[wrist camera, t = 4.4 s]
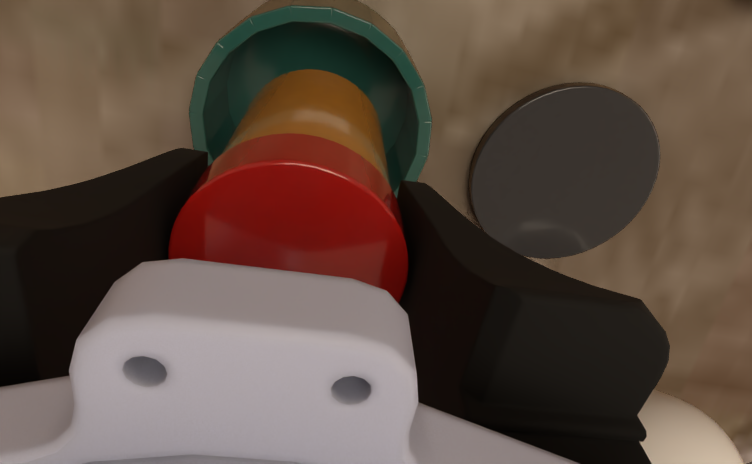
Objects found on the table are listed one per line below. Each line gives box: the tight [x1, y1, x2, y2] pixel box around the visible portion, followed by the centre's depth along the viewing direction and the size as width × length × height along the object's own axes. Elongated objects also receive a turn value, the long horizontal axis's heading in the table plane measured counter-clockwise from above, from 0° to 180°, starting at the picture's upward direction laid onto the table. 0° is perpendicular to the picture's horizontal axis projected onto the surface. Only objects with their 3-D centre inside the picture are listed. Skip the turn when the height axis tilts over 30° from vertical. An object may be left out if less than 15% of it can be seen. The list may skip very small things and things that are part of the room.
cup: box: [189, 0, 432, 199], centre depth 19 cm, size 8×8×4 cm
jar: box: [168, 69, 409, 304], centre depth 13 cm, size 5×5×8 cm
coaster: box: [469, 82, 660, 259], centre depth 22 cm, size 8×8×1 cm
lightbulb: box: [637, 389, 744, 464], centre depth 23 cm, size 6×6×11 cm
